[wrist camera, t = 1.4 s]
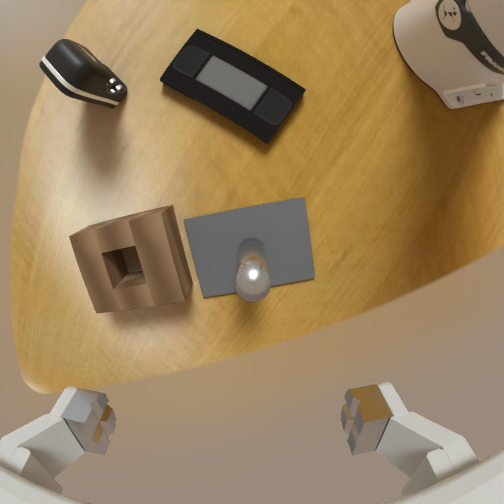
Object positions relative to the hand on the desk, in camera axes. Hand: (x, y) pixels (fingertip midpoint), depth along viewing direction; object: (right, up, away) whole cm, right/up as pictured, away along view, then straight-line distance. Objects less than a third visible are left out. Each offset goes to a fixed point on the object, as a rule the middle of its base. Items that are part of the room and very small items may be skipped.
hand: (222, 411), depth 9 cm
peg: (+1, +5, +26) cm, 27 cm away
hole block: (-13, +5, +27) cm, 30 cm away
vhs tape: (-1, +24, +21) cm, 32 cm away
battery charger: (-16, +26, +20) cm, 36 cm away
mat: (+1, +6, +27) cm, 27 cm away
